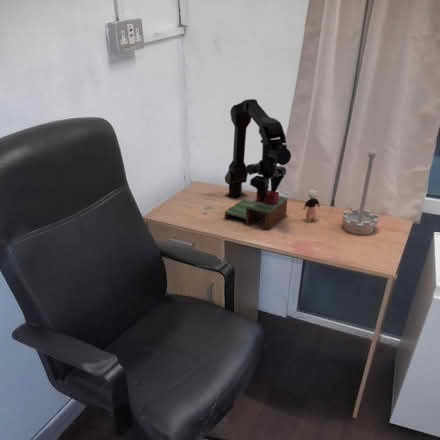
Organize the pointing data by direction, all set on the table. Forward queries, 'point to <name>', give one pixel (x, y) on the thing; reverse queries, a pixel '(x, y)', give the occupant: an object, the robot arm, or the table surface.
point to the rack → (259, 211)
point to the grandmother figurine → (311, 206)
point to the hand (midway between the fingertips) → (267, 197)
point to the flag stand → (362, 209)
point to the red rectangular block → (269, 197)
